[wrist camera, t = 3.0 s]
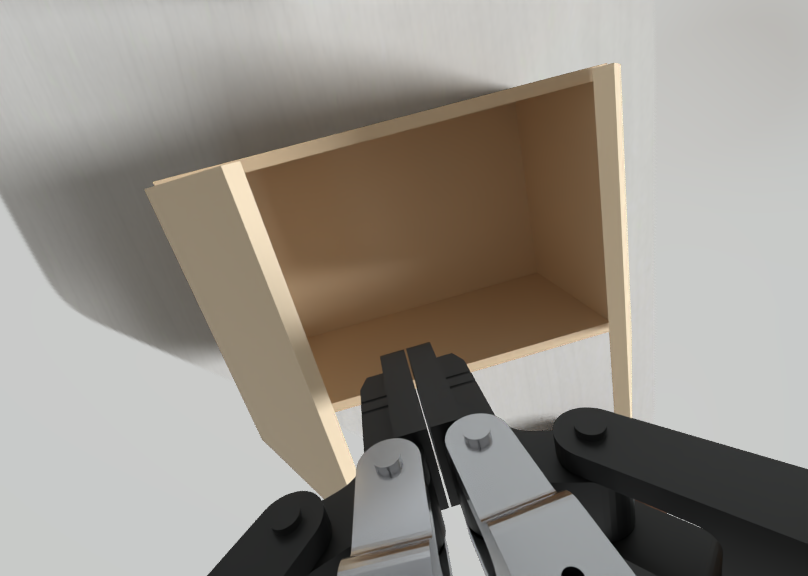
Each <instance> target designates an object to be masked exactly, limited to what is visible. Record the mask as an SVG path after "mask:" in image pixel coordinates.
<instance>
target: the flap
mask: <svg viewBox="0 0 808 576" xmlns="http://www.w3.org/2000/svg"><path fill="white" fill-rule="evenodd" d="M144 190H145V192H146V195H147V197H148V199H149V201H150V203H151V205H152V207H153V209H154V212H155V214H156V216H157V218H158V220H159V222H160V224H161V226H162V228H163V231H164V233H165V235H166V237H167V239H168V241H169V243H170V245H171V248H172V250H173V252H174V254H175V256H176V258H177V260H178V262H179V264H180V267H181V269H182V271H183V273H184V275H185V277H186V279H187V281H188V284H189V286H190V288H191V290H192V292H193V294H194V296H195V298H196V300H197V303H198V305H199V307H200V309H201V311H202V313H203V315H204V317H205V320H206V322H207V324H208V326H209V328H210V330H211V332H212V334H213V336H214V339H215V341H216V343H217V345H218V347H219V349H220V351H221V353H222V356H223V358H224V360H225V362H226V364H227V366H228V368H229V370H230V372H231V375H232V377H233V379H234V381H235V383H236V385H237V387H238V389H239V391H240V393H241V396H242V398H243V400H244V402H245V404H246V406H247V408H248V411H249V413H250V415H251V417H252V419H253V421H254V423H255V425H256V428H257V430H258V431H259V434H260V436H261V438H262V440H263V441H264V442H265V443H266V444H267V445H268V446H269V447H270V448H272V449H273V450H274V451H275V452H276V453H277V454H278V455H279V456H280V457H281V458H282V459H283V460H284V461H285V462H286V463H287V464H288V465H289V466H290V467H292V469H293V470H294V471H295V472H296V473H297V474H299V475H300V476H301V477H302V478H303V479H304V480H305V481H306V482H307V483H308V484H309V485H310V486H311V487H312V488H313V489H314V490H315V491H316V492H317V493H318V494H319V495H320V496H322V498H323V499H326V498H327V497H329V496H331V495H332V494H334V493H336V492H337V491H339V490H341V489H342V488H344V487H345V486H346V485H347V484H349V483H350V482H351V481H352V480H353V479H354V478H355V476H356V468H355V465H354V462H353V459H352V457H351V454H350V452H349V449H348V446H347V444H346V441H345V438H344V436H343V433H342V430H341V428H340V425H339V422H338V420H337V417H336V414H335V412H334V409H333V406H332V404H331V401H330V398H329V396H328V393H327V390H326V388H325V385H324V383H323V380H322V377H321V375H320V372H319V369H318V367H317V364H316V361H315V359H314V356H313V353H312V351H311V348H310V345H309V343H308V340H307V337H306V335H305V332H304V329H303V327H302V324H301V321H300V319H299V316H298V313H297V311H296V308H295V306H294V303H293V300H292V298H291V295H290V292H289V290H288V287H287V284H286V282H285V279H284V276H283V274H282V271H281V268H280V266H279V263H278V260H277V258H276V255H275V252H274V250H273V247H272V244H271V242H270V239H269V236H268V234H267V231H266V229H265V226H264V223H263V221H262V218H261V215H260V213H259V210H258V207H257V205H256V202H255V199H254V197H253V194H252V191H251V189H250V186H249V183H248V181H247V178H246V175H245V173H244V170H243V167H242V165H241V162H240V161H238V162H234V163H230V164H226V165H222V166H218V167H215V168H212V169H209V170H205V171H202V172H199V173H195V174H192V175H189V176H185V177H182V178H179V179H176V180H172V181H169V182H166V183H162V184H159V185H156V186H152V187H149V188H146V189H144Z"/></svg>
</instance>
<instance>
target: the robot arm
mask: <svg viewBox="0 0 808 576" xmlns="http://www.w3.org/2000/svg"><path fill="white" fill-rule="evenodd" d="M406 351H407V355H408V358H409V362H410V365H411V369H412V373H413V376H414V380H415V384H416V387H417V391H418V394H419V398H420V401H421V405H422V408H423V412H424V415H425V419H426V422H427V425H428V429H429V432H430V435H431V439H432V442H433V446H434V449H435V452H436V456H437V459H438V462H439V466H440V469H441V472H442V476H443V479H444V483H445V486H446V489H447V492H448V496H449V499H450V503H451V506H452V507H453V506H456V505H459V504H461V508H462V510H463V514H464V517H465V520H466V524H467V527H468V532H469V535H470V538H471V541H472V543H473V546H474V548H475V551H476V553H477V556H478V558H479V560H480V563H481V565H482V567H483V570H484V572H485V575H486V576H808V469H805V468H802V467H798V466H795V465H791V464H788V463H785V462H781V461H778V460H774V459H771V458H767V457H764V456H760V455H757V454H754V453H750V452H747V451H743V450H740V449H736V448H733V447H730V446H726V445H723V444H719V443H716V442H712V441H709V440H705V439H702V438H699V437H695V436H692V435H688V434H685V433H681V432H678V431H675V430H671V429H668V428H664V427H661V426H657V425H654V424H650V423H647V422H644V421H640V420H637V419H633V418H630V417H626V416H623V415H620V414H616V413H613V412H609V411H606V410H602V409H598V408H577V409H572V410H569V411H567V412H565V413H563V414H562V415H560V416H559V417H558V418H557V419H556V421H555V423H554V425H553V430H551V431H522V430H517V429H514V428H511V427H509V426H508V424H507V423H506V422H505V421H504V420H502V419H501V418H499V417H497V416H495V415H494V413H493V411H492V409H491V407H490V406H489V404H488V402H487V400H486V398H485V397H484V395H483V393H482V391H481V389H480V388H479V386H478V384H477V382H476V381H475V379H474V377H473V375H472V373H471V372H470V370H469V368H468V366H467V364H466V362H465V361H464V360H463V359H462V358H460V357H458V356H456V355H455V354H453V353H450V354H447V355H443V356H440V357H436V355H435V353H434V350H433V348H432V346H431V343H430V342H427V343H423V344H420V345H416V346H413V347H410V348H406ZM380 360H381V366H382V372H383V373H382V374H378V375H375V376H371V377H368V378H366V380H365V382H364V384H363V386H362V388H361V390H360V396H361V411H362V427H363V441H364V454H363V455H362V457H361V458H360V460H359V462H358V464H357V468H356V476H355V478H354V479H353V480H352V481H351V482H350V483H349V484H347V485H346V486H345V487H344V488H342V489H341V490H339V491H337V492H336V493H334V494H332V495H331V496H329V497H327V498H326V499H324V500H322V501H321V499H320V498H319V497H318V496H317V495H316V494H314V493H312V492H308V491H298V492H294V493H290V494H288V495H285V496H283V497H281V498H280V499H278V500H277V501H275V502H274V503H272V504H271V505H270V506H269V507H268V508H267V509H266V510H265V511H264V512H263V513H262V514H261V516H259V518H258V519H257V520H256V521H255V522H254V523H253V524H252V526H251V527H250V528H249V529H248V530H247V531H246V532H245V534H244V535H243V536H242V537H241V538H240V539H239V540H238V542H237V543H236V544H235V545H234V546H233V547H232V548H231V549H230V550H229V552H228V553H227V554H226V555H225V556H224V557H223V558H222V560H221V561H220V562H219V563H218V564H217V565H216V566H215V568H214V569H213V570H212V571H211V572H210V573H209V574H208V575H207V576H453V575H452V570H451V565H450V558H449V552H448V547H447V543H446V539H445V532H446V530H445V525H444V521H443V518H442V514H441V510H443V509H447V508H449V506H448V503H447V499H446V496H445V492H444V488H443V485H442V481H441V477H440V474H439V470H438V467H437V463H436V459H435V456H434V452H433V449H432V445H431V441H430V438H429V434H428V431H427V427H426V424H425V420H424V417H423V413H422V410H421V406H420V403H419V400H418V396H417V393H416V389H415V386H414V382H413V379H412V376H411V372H410V369H409V365H408V362H407V359H406V355H405V352H404V349H403V350H399V351H396V352H393V353H389V354H386V355H382V356H380ZM634 499H635V500H634ZM636 500H637V501H636ZM638 501H640V502H642V503H640V502H638ZM643 503H645V504H647V505H645V504H643ZM648 505H649V506H648ZM650 506H652V507H654V508H652V507H650ZM655 508H656V509H655ZM657 509H659V510H661V511H659V510H657ZM662 511H664V512H666V513H664V512H662ZM667 513H668V514H667ZM669 514H671V515H673V516H671V515H669ZM674 516H676V517H678V518H676V517H674ZM679 518H680V519H679ZM681 519H683V520H685V521H683V520H681ZM686 521H688V522H690V523H692V524H690V523H688V522H686ZM693 524H695V525H697V526H699V527H697V526H695V525H693ZM700 527H701V528H700ZM702 528H703V529H702Z"/></svg>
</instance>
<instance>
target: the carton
mask: <svg viewBox="0 0 808 576" xmlns="http://www.w3.org/2000/svg"><path fill="white" fill-rule="evenodd" d="M604 65H607V63H605V64H601V65H598V66H594V67H590V68H586V69H582V70H578V71H575V72H571V73H567V74H563V75H559V76H555V77H552V78H548V79H544V80H540V81H536V82H533V83H529V84H525V85H521V86H517V87H513V88H510V89H506V90H502V91H498V92H494V93H490V94H487V95H483V96H479V97H475V98H471V99H468V100H464V101H460V102H456V103H452V104H448V105H445V106H441V107H437V108H433V109H429V110H425V111H422V112H418V113H414V114H410V115H406V116H403V117H399V118H395V119H391V120H387V121H383V122H380V123H376V124H372V125H368V126H364V127H360V128H357V129H353V130H349V131H345V132H341V133H338V134H334V135H330V136H326V137H322V138H318V139H315V140H311V141H307V142H303V143H299V144H295V145H292V146H288V147H284V148H280V149H276V150H273V151H269V152H265V153H261V154H257V155H253V156H250V157H246V158H242V159H238V160H234V161H230V162H227V163H223V164H219V165H215V166H211V167H208V168H204V169H200V170H196V171H192V172H188V173H185V174H181V175H177V176H173V177H169V178H165V179H162V180H158V181H154V182H153V184H154V186H156V185H159V184H162V183H166V182H169V181H172V180H176V179H179V178H182V177H185V176H189V175H192V174H195V173H199V172H202V171H205V170H209V169H212V168H215V167H218V166H222V165H226V164H230V163H234V162H238V161H240V162H241V165H242V167H243V170H244V173H245V175H246V178H247V181H248V183H249V186H250V189H251V191H252V194H253V197H254V199H255V202H256V205H257V207H258V210H259V213H260V215H261V218H262V221H263V223H264V226H265V229H266V231H267V234H268V236H269V239H270V242H271V244H272V247H273V250H274V252H275V255H276V258H277V260H278V263H279V266H280V268H281V271H282V274H283V276H284V279H285V282H286V284H287V287H288V290H289V292H290V295H291V298H292V300H293V303H294V306H295V308H296V311H297V313H298V316H299V319H300V321H301V324H302V327H303V329H304V332H305V335H306V337H307V340H308V343H309V345H310V348H311V351H312V353H313V356H314V359H315V361H316V364H317V367H318V369H319V372H320V375H321V377H322V380H323V383H324V385H325V388H326V390H327V393H328V396H329V398H330V401H331V404H332V406H333V409H334V412H338V411H341V410H345V409H348V408H351V407H355V406H358V405H361V396H360V390H361V388H362V386H363V384H364V382H365V380H366V378H368V377H371V376H375V375H378V374H382V373H383V372H382V366H381V360H380V356H382V355H386V354H389V353H393V352H396V351H399V350H403V349H404V352H405V355H406V359H407V362H408V365H409V369H410V372H411V376H412V379H413V382H414V386H415V389H416V388H417V387H416V384H415V380H414V376H413V373H412V369H411V365H410V362H409V358H408V355H407V351H406V348H410V347H413V346H416V345H420V344H423V343H427V342H430V343H431V346H432V348H433V350H434V353H435V355H436V357H440V356H443V355H447V354H450V353H453V354H455V355H456V356H458V357H460V358H462V359H463V360H464V361H465V362H466V364H467V366H468V368H469V370H470V372H474V371H477V370H481V369H484V368H487V367H491V366H494V365H498V364H501V363H504V362H508V361H511V360H515V359H518V358H521V357H525V356H528V355H532V354H535V353H538V352H542V351H545V350H549V349H552V348H555V347H559V346H562V345H566V344H569V343H572V342H576V341H579V340H583V339H586V338H589V337H593V336H596V335H600V334H603V333H606V332H609V320H608V305H607V289H606V273H605V257H604V242H603V226H602V210H601V195H600V179H599V163H598V148H597V132H596V116H595V100H594V85H593V68H597V67H601V66H604Z"/></svg>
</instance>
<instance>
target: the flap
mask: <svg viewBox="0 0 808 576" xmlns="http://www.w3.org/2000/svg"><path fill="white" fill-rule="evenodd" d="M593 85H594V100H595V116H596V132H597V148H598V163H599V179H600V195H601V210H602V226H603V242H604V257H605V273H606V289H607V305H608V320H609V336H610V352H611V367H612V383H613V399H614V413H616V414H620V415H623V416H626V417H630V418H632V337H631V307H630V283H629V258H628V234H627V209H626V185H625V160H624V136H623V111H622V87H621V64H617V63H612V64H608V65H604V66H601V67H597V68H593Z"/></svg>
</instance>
